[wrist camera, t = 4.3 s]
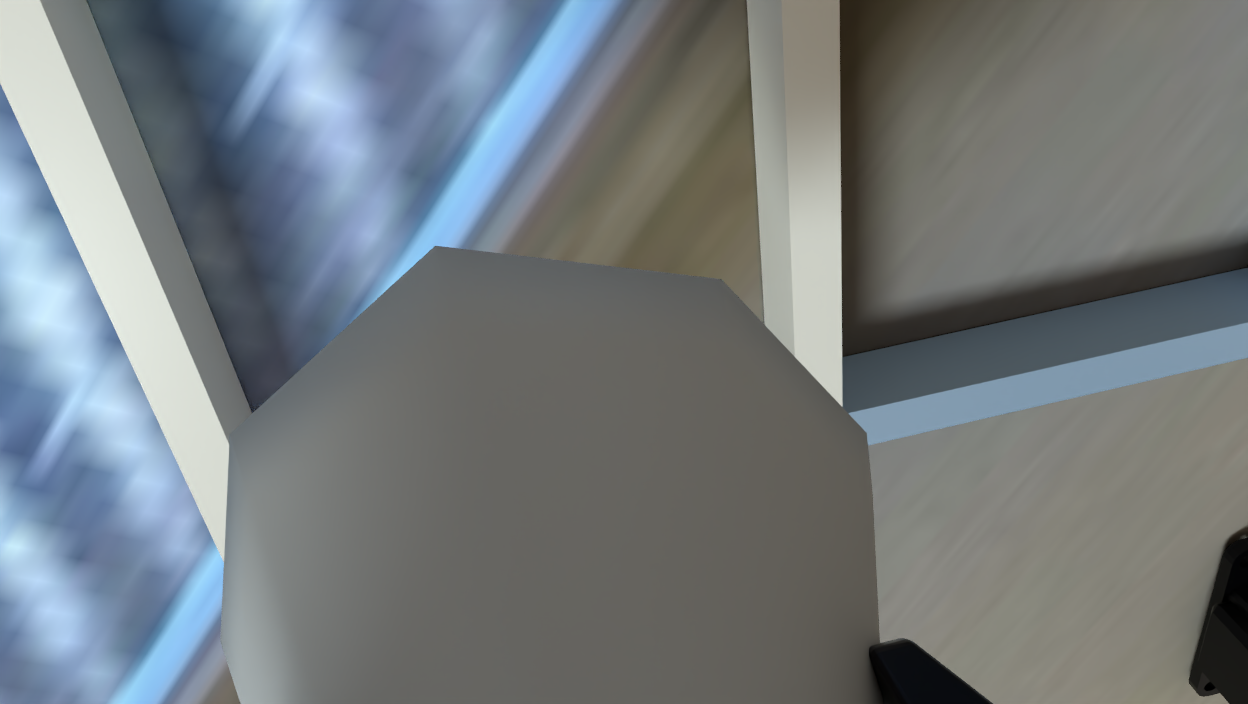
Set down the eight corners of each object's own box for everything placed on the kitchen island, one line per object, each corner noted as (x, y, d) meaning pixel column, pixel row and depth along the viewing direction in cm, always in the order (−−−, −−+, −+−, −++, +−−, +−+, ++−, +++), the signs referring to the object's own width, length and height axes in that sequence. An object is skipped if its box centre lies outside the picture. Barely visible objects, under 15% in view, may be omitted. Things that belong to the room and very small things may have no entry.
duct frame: (1444, -341, 18) (1552, -346, 16) (1277, 294, 25) (1341, 335, 23) (-30, -107, 16) (-79, -85, 14) (247, 526, 23) (237, 590, 21)
